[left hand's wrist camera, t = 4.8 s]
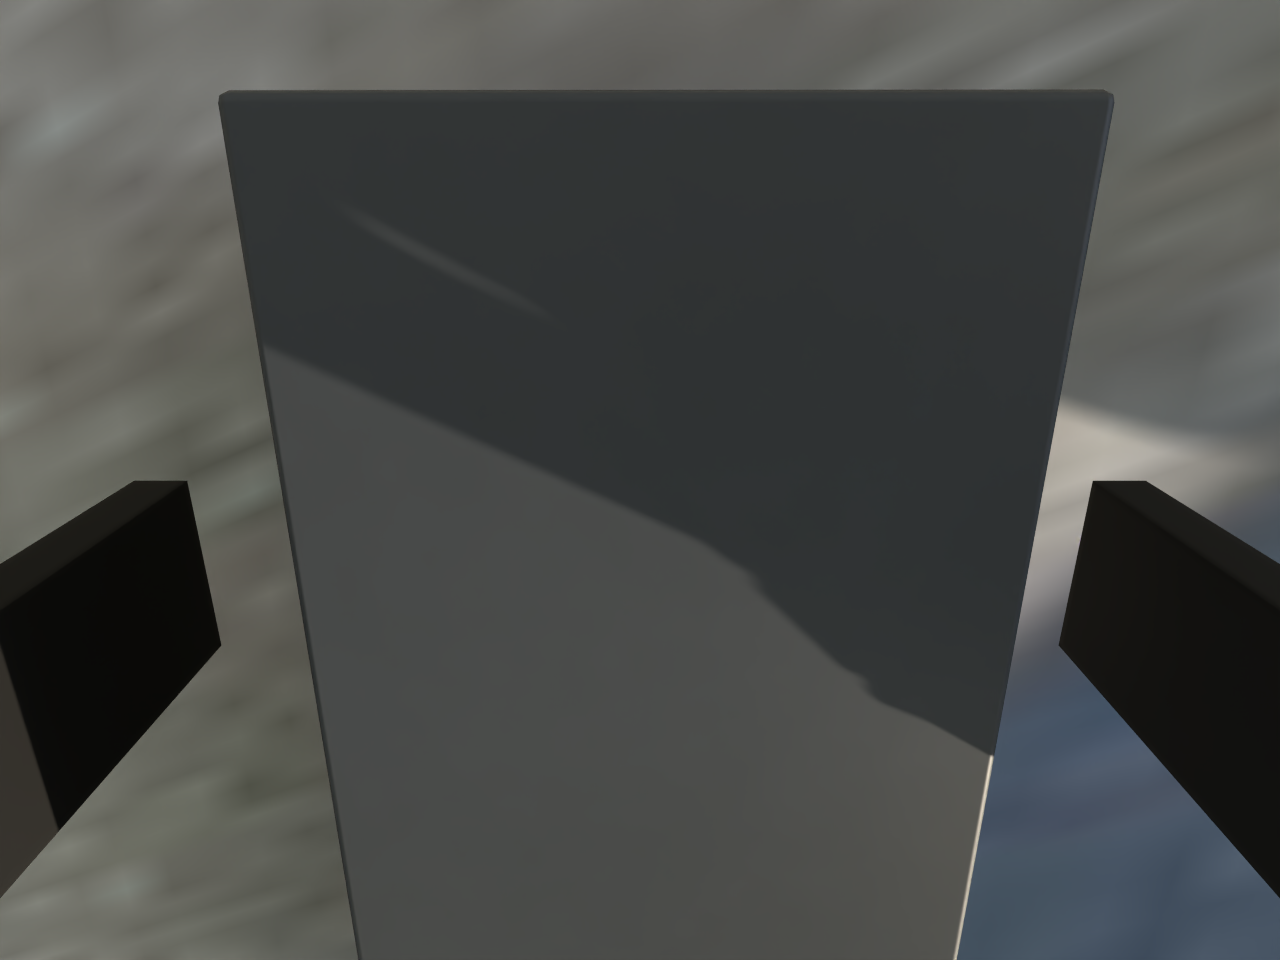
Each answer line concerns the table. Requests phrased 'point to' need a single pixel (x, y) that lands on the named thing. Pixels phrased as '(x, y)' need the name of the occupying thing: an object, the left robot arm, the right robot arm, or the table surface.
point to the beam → (662, 495)
